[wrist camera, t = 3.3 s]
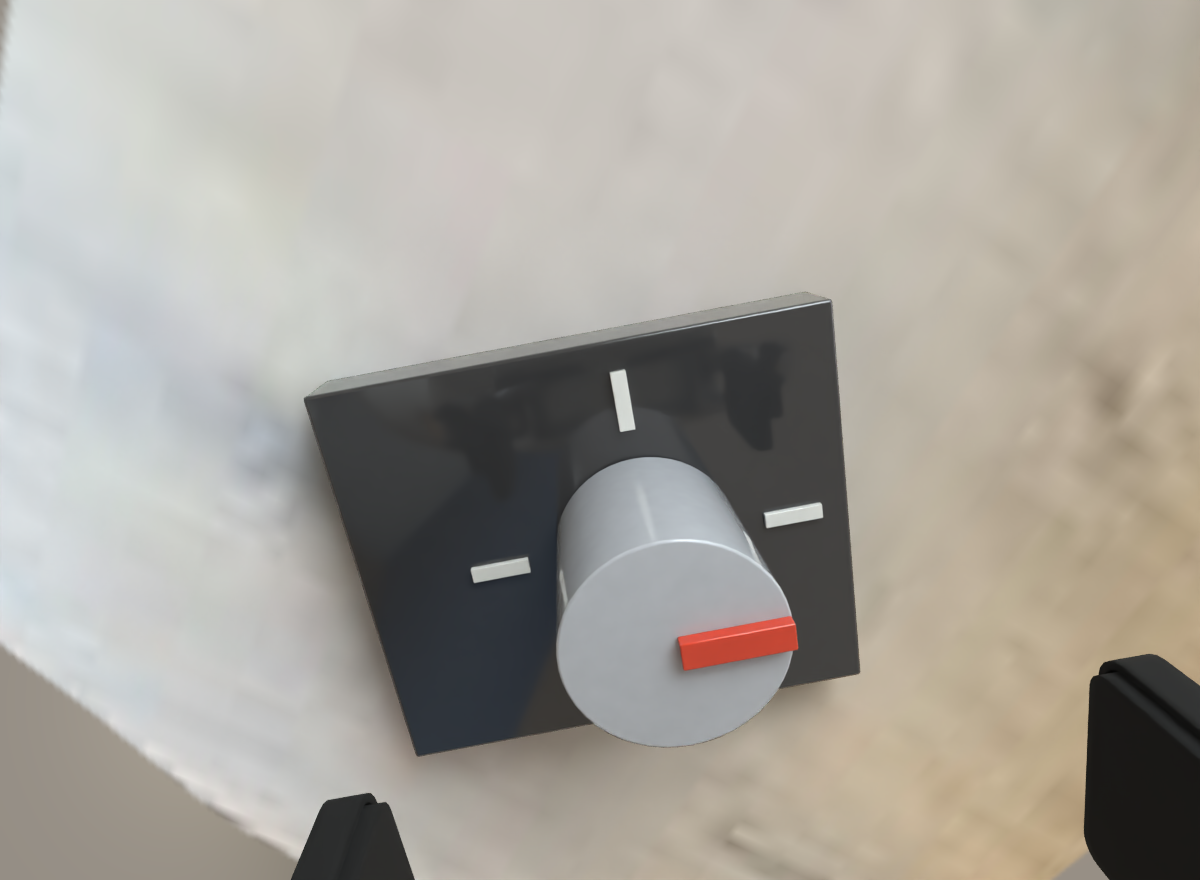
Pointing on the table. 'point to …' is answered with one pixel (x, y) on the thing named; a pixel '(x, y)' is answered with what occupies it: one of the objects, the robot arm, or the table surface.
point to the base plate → (556, 471)
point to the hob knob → (665, 607)
